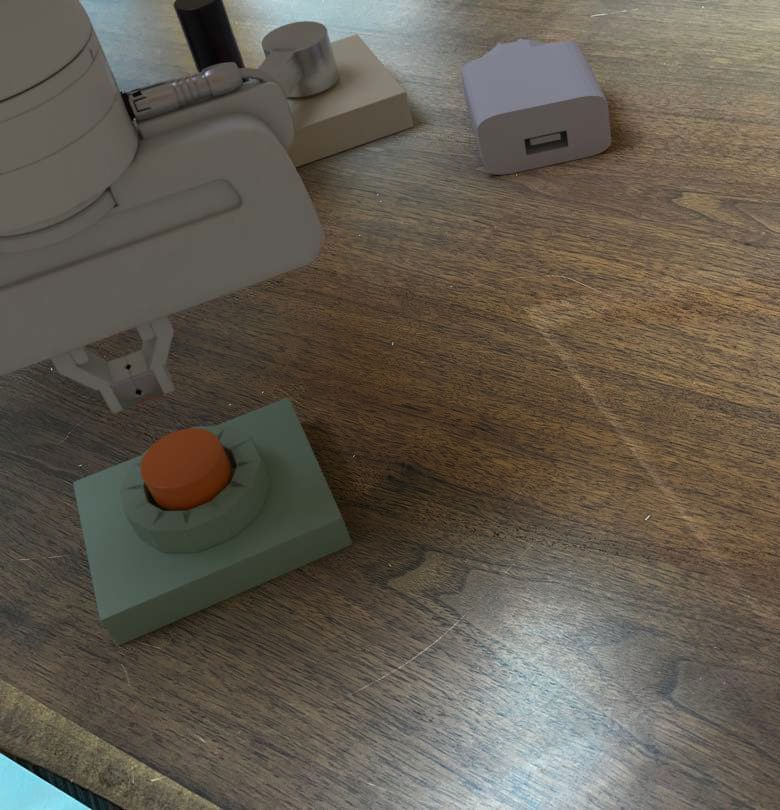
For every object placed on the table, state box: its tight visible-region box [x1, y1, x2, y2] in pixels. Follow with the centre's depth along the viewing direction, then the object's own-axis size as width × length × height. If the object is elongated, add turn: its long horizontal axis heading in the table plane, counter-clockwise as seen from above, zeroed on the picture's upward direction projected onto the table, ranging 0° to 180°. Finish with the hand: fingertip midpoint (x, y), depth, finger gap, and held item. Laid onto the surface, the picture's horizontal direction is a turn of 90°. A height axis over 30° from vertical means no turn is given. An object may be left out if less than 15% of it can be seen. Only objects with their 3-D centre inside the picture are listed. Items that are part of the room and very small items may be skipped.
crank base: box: [249, 33, 414, 169], centre depth 85 cm, size 12×12×3 cm
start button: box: [140, 427, 232, 511], centre depth 54 cm, size 4×4×2 cm
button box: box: [72, 396, 353, 647], centre depth 55 cm, size 12×10×4 cm
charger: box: [460, 37, 612, 176], centre depth 81 cm, size 5×9×15 cm
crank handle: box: [173, 0, 339, 97], centre depth 77 cm, size 15×5×12 cm, turn 168°
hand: (142, 394), depth 50 cm, fingers closed
